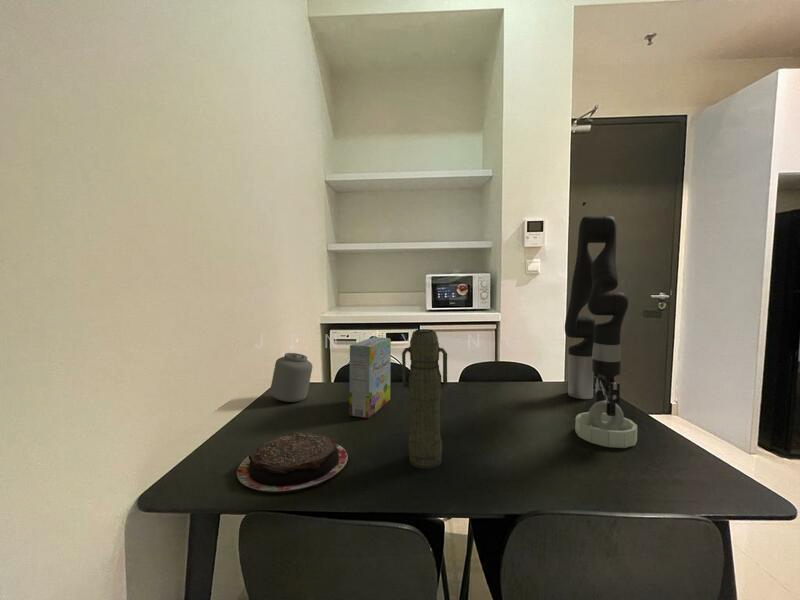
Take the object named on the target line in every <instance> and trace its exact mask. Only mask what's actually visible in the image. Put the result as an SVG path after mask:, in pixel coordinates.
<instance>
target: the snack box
mask: <svg viewBox="0 0 800 600" xmlns="http://www.w3.org/2000/svg"><path fill="white" fill-rule="evenodd" d="M391 341H392V339H391V338H390V337H377V336H376V337H375V336H374V337H370V338H368V339H364V340H361V341H359V342H355V343H353V344H351V345H349V398H348V399H349V401H348V403H349V405H348V406H349V407H348V409H349V412H348V414H349V416H350V417H351V416H352V417H356V418H365V419H370V418H371V417H372V416H373V415H374V414H376V413H377V412H378V411H379V410H380V409H382V406H383V407H384V406H385V405H386V404H387V403H388V401H389V400H390V401H391V364H392V363H391V359H392V357H391V351H392V350H391V348H392V347H391V345H392V343H391ZM390 401H389V402H390Z"/></svg>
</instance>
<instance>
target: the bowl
mask: <svg viewBox="0 0 800 600" xmlns="http://www.w3.org/2000/svg"><path fill="white" fill-rule="evenodd" d="M588 414H589V411H587V412H580V413H578V414H577V415H576V416H575V424H574V425H575V428H574V429H575V431H574V432H575V434H577V436H578V437H579V438H580V439H583V440H584V441H587V442H589V443H590V444H595V445H599V446H601V447H606V448H619V449H626V448H629V447H634V446H636V443H637V441H638V424H636V423H635V422H634V421H633V420H631V419H629V418H627V417H624V420H623V424H622V426H621V427H620V428H619V429H618V430H617V431H614V430H605V429H600V428H596V427H593V426H592V425H591V423H590V421H589V418H588ZM610 419H611V416H608V415H607V414H606V412H604V413H602V414H601V420H602V421H604V422H606V421H609V420H610Z"/></svg>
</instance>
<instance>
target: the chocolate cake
mask: <svg viewBox="0 0 800 600" xmlns="http://www.w3.org/2000/svg"><path fill="white" fill-rule="evenodd" d="M348 455H349V454H348V453H347V451H346V449H345V448H344V447H342V445H339V444H338V443H337V439H336V438H334V437H331V438H329V437H328V436H325V435H320V434H316V433H315V434H314V433H309V432H291V433H287V434H286V435H282V436H278V437H276V438H274V439H272V440H269V441H266V442H264V443H261V444H260V446H258V447H257V448H256V449H254V450H252V451H251V452H249V454H248V456H247V457H246V458H244V459H243V460H242V461H241V463H240V464H239V466H238V467H237V470H236V478H237V480H238V481H239V483H240V484H241V485H242V486H244V487H247V488H248V489H249V488H250V489H252V490H257V491H258V492H260V493H262V494H290V493H301V492H302V491H304V490H305V489H307V488H313V487H314V488H315V487H319V486H321V485H323V484H324V483H326V481H327V480H331V479H334V478H335V479H336V478H337V476H338V474H339V473H340V472H341V471H342V470H343V469H344V468H345V467H346V465H347V462H348V460H349V456H348Z"/></svg>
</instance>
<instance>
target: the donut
mask: <svg viewBox="0 0 800 600" xmlns="http://www.w3.org/2000/svg"><path fill="white" fill-rule="evenodd" d="M606 409H607V401H606V399H604V401H599V402H597V403H596V402H594V404H592V406H591V407H590V408H589V411H588V412H589V414H588V418H589V421H590V423H591V425H592V426H593V427H596V428H600V429H605V430H614V431H617V430H618V429H619V428H620V427H621V426H622V424H623V420H624V418H625V416H624V411H623V410H622V408H621V407H620V406H619V405H618V403H617V404H616V410H615V416H611V419H610V420H609V421H606V422H604V421H602V420H601V414H602V413H606Z"/></svg>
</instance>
